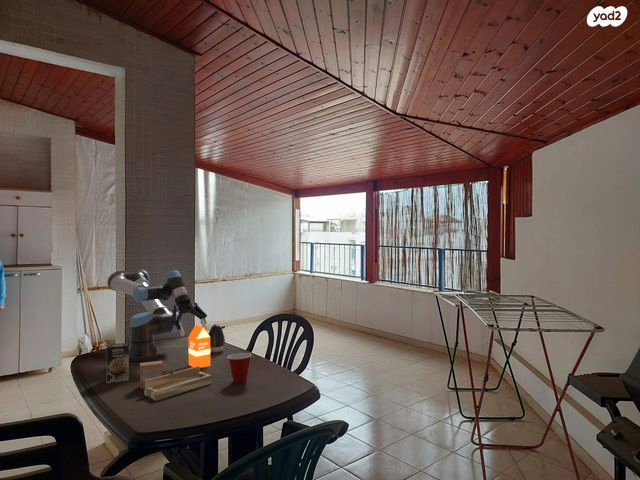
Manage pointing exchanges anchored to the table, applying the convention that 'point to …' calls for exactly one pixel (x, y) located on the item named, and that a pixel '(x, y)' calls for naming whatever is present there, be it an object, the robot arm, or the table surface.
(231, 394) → the table surface
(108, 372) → the coffee box
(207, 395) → the table surface
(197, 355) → the orange juice
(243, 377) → the plastic cup
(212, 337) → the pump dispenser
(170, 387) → the wooden tray
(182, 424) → the table surface
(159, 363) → the wooden block
